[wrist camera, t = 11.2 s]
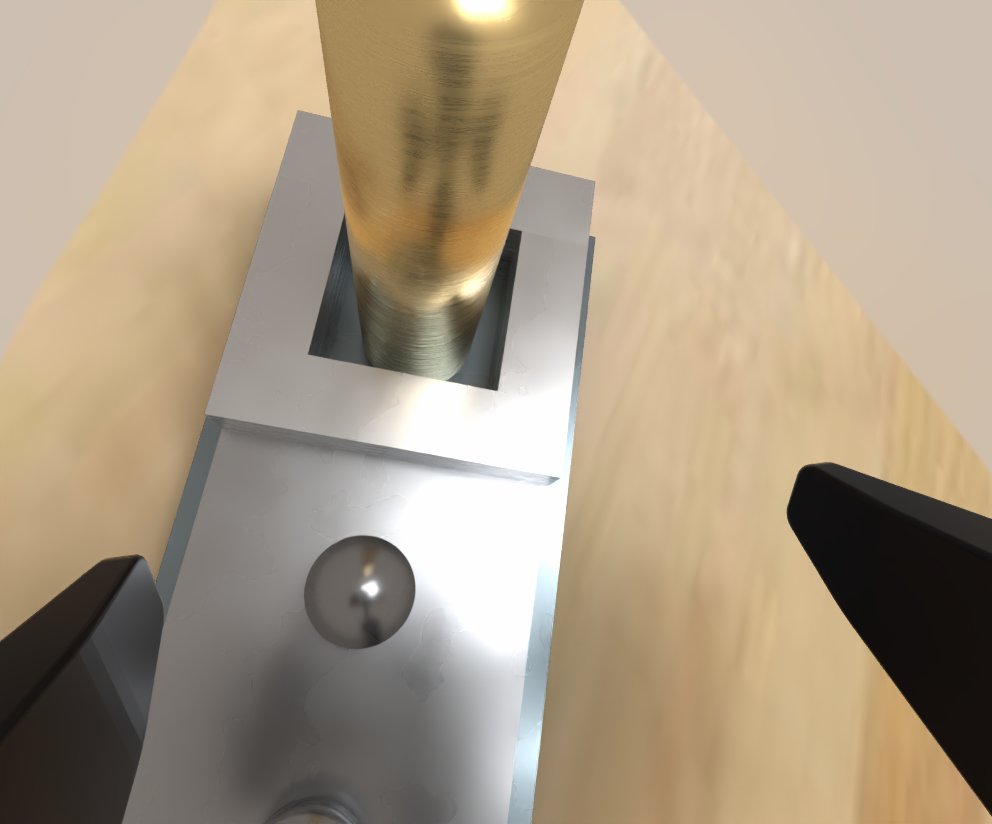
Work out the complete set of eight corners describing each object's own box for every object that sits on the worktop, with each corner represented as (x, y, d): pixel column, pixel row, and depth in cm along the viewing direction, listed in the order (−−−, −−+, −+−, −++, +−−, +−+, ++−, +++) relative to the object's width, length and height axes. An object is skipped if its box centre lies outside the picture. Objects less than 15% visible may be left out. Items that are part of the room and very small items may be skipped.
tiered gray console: (501, 960, 16) (541, 1098, 12) (74, 926, 15) (-57, 1067, 10) (582, 258, 22) (626, 183, 18) (290, 193, 21) (264, 96, 17)
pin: (482, 375, 19) (631, 31, 7) (374, 397, 18) (334, 51, 6) (457, 279, 20) (551, -176, 8) (351, 295, 19) (279, -182, 7)
